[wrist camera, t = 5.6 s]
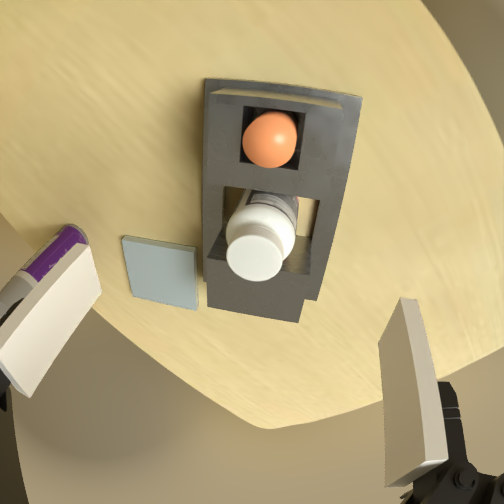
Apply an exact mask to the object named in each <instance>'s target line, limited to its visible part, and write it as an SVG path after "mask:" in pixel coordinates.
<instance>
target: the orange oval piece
mask: <svg viewBox="0 0 504 504" xmlns="http://www.w3.org/2000/svg"><path fill="white" fill-rule="evenodd" d="M298 129H299V126H298V122H297V119H296V117H295V116H294V115H293V113H291V112H290V111H288V110H280V109H272V108H267V109H265V110H264V111H262V112H261V113H260V114H259V116H258V117H257V118H256V119H255V120H254V121H253V122H252V123H251V124H250V125H249V127H248V128H247V129H246V131H245V133H244V136H243V148H244V151H245V153H246V155H247V157H248V158H249V159H250V160H251V161H252V162H253V163H255V164H257V165H259V166H261V167H265V168H275V167H279V166H281V165H283V164H285V163H286V162H288V161H289V159H290V158H291V157H292V155H293V153H294V150H295V145H296V140H297V135H298Z"/></svg>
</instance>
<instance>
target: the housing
mask: <svg viewBox="0 0 504 504" xmlns="http://www.w3.org/2000/svg"><path fill="white" fill-rule="evenodd" d="M361 104H362V97H360V96H355V95H350V94H345V93H340V92H335V91H329V90H324V89H318V88H311V87H305V86H298V85H290V84H282V83H273V82H264V81H253V80H240V79H223V78H206V79H205V99H204V129H203V192H202V216H203V280H204V281H205V282H207V306H208V307H212V308H217V309H222V310H227V311H232V312H237V313H243V314H248V315H254V316H259V317H265V318H271V319H277V320H283V321H289V322H295V323H298V322H299V318H300V314H301V310H302V306H303V302H304V299H308V300H314V301H317V298H318V294H319V291H320V287H321V284H322V280H323V276H324V273H325V269H326V265H327V261H328V258H329V254H330V250H331V246H332V242H333V238H334V234H335V230H336V226H337V222H338V217H339V213H340V209H341V205H342V200H343V196H344V191H345V187H346V182H347V178H348V173H349V168H350V163H351V158H352V153H353V148H354V143H355V138H356V133H357V127H358V122H359V116H360V110H361ZM267 108H272V109H280V110H288V111H290V112H291V113H293V115H294V116H295V117H296V119H297V122H298V126H299V129H298V135H297V140H296V145H295V150H294V153H293V155H292V157H291V158H290V159H289V161H288V162H286V163H285V164H283V165H281V166H279V167H275V168H265V167H261V166H259V165H257V164H255V163H253V162H252V161H251V160H250V159H249V158H248V157H247V155H246V153H245V151H244V148H243V136H244V133H245V131H246V129H247V128H248V127H249V125H250V124H251V123H252V122H253V121H254V120H255V119H256V118H257V117H258V116H259V114H260V113H261V112H262V111H264V110H265V109H267ZM225 186H230V187H238V188H245V189H252V190H259V191H266V192H273V193H279V194H286V195H292V196H298V197H304V198H310V199H316V200H319V205H318V210H317V215H316V220H315V225H314V230H313V235H312V238H309V237H303V236H297V235H296V237H295V243H294V246H293V249H292V251H291V252H290V254H289V255H288V256H287V257H286V258H285V259H284V260H283V262H282V266H281V268H280V270H279V272H278V273H277V274H276V275H275V276H274V277H272V278H270V279H268V280H264V281H250V280H247V279H244V278H242V277H240V276H238V275H237V274H236V273H235V272H234V271H233V270H232V269H231V268H230V266H229V264H228V262H227V257H226V253H227V248H228V244H227V240H226V229H227V225H228V224H224V201H225Z"/></svg>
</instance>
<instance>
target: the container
mask: <svg viewBox="0 0 504 504" xmlns="http://www.w3.org/2000/svg"><path fill="white" fill-rule="evenodd" d="M76 243H80V244H85V245H89V242H88V239H87V237H86V235H85V233H84V232H83V231H82V230H81V229H80V228H79V227H78V226H76V225H73V224H67V225H65V226H64V227H63V228H62V229H61V230H60V231H59V232H57V233H56V234H55V235H54V236H53V237H52V238H51V239H50V240H49V241H48V242H47V243H46V244H45V245H44V246H43V247H42V248H41V249H39V250H38V251H37V252H36V253H35V254H34V255H33V256H32V257H31V258H30V259H29V260H28V261H27V262H26V264H24V266H23V267H22V268H21V269H20V270H19V271H18V272H17V273H16V274H15V275H14V276H13V277H12V278H11V280H10V281H9V282H8V283H7V284H6V285H5V287H4V288H3V289H2V290H1V292H0V317H1V318H2V317H3V315H4V314H6V312H7V311H8V309H9V308H10V307H11V306H12V305H13V304H14V303H15V302H17V301H18V300H20V299H21V298H25V297H26V296H27V295H28V294H29V293H30V292H31V290H32V289H33V288H34V287H35V286H36V285H37V284H38V283H39V282H40V281H41V279H42V278H43V277H44V276H45V275H46V274H47V273H48V272H49V271H50V270H51V269H52V268H53V267H54V266H55V265H56V264H57V262H58V261H59V260H60V259H61V258H62V257H63V256H64V255H65V254H66V253H67V252H68V251H69V250H70V249H71V248H72V247H73V246H74V245H75V244H76Z"/></svg>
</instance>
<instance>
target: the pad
mask: <svg viewBox="0 0 504 504" xmlns="http://www.w3.org/2000/svg"><path fill="white" fill-rule="evenodd" d="M122 245H123V251H124V256H125V261H126V266H127V271H128V276H129V281H130V286H131V290H132V295H133V297H137V298H141V299H145V300H150V301H154V302H158V303H163V304H167V305H171V306H176V307H181V308H185V309H190V310H194V311H197V308H198V306H199V301H198V279H197V251H196V247H191V246H185V245H179V244H173V243H168V242H162V241H156V240H150V239H144V238H138V237H132V236H127V235H125V236H124V238H123V239H122Z"/></svg>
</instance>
